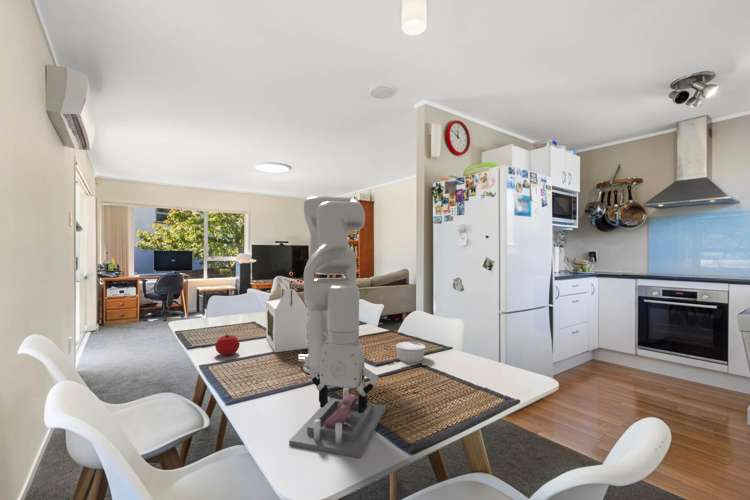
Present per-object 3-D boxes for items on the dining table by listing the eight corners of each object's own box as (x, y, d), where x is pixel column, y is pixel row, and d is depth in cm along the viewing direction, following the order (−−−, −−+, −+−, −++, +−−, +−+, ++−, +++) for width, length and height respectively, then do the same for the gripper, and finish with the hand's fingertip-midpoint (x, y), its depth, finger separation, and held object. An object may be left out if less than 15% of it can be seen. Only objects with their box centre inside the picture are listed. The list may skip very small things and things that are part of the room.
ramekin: (430, 357, 135) (430, 344, 135) (417, 366, 126) (417, 351, 126) (404, 352, 141) (404, 340, 141) (390, 360, 132) (390, 346, 132)
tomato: (210, 356, 134) (210, 336, 134) (224, 350, 142) (225, 330, 142) (230, 358, 132) (230, 337, 132) (244, 351, 140) (244, 332, 140)
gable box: (266, 339, 160) (266, 278, 159) (295, 336, 165) (295, 277, 165) (274, 352, 140) (275, 283, 139) (307, 348, 145) (307, 281, 145)
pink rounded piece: (338, 438, 78) (352, 412, 78) (321, 427, 79) (334, 401, 79) (351, 417, 88) (364, 394, 87) (336, 407, 89) (348, 384, 88)
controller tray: (289, 445, 75) (289, 421, 75) (329, 401, 96) (329, 383, 96) (359, 457, 70) (360, 433, 70) (386, 409, 92) (386, 390, 92)
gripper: (302, 337, 82) (302, 409, 82) (373, 343, 77) (372, 420, 77) (316, 330, 89) (316, 396, 89) (382, 335, 84) (381, 405, 85)
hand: (342, 407), depth 83 cm, fingers open, 9 cm apart
